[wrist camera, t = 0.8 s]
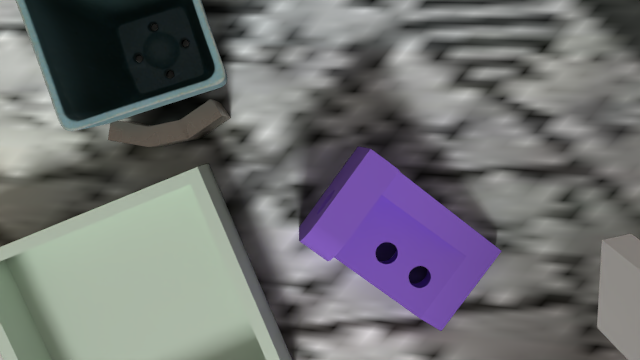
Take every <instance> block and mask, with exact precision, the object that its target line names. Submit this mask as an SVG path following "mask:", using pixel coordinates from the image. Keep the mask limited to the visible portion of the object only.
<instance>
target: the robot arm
mask: <svg viewBox="0 0 640 360" xmlns="http://www.w3.org/2000/svg"><path fill="white" fill-rule="evenodd" d="M597 328H598V329H599V330H600V331H601V332H602V333H603V334H604V335H605V336H606V337H607V338H608V339H609V341H610V342H611V343H612V344H613V345H614V346H615V347H616V348H617V349H618V350H619V351H620V352H621V353H622V354H623V355H624V356H625V357H626V358H627V359H628V360H640V240H639V239H638V238H636V237H635V236H634V235H632V234H627V235H622V236H618V237H613V238H609V239H604V240H602V248H601V265H600V283H599V301H598V319H597Z"/></svg>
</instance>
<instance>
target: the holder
mask: <svg viewBox="0 0 640 360" xmlns="http://www.w3.org/2000/svg"><path fill="white" fill-rule="evenodd" d="M230 118H231V117H230V116H229V114H228V113H227V111H226V110H225V109H224V107H223V106H222V104H221V103H220V102H217V101H215V100H212V99H210V100H208V101H207V102H205V103H204V104H203V105H201V106H200V107H198V108H197V109H195V110H194V111H192V112H191V113H189V114H188V115H186V116H185V117H184V118H182V119H181V120H177V121H172V122H168V123H163V124H158V125H154V126H153V125H148V124H142V123H136V122H129V121H115V122H112V123H110V130H109V137H108V140H111V141H117V142H123V143H128V144H134V145H140V146H146V147H158V146H167V145H171V144H176V143H181V142H185V141H190V140H195V139H200V138H202V137H203V136H205V135H206V134H208V133H209V132H211V131H212V130H214V129H215V128H216V127H218V126H219V125H221V124H222V123H224V122H225V121H227V120H228V119H230Z"/></svg>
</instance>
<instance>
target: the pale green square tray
mask: <svg viewBox="0 0 640 360" xmlns="http://www.w3.org/2000/svg"><path fill="white" fill-rule="evenodd" d="M0 353H1V355H2V357H3V359H4V360H292V358H291V356H290V353H289V351H288V349H287V346H286V344H285V342H284V339H283V337H282V335H281V332H280V330H279V328H278V325H277V323H276V321H275V318H274V316H273V314H272V311H271V309H270V307H269V304H268V302H267V299H266V297H265V295H264V292H263V290H262V288H261V285H260V283H259V281H258V278H257V276H256V274H255V271H254V269H253V267H252V264H251V262H250V260H249V257H248V255H247V253H246V250H245V248H244V246H243V243H242V241H241V238H240V236H239V234H238V231H237V229H236V227H235V224H234V222H233V220H232V217H231V215H230V213H229V210H228V208H227V206H226V203H225V201H224V199H223V196H222V194H221V192H220V189H219V187H218V185H217V182H216V180H215V177H214V175H213V173H212V170H211V168H210V166H209V163H208V164H205V165H202V166H198V167H196V168H193V169H191V170H188V171H186V172H183V173H181V174H179V175H176V176H174V177H171V178H169V179H166V180H164V181H161V182H159V183H156V184H154V185H152V186H149V187H147V188H144V189H142V190H139V191H137V192H134V193H132V194H129V195H127V196H124V197H122V198H120V199H117V200H115V201H112V202H110V203H107V204H105V205H102V206H100V207H97V208H95V209H93V210H90V211H88V212H85V213H83V214H80V215H78V216H75V217H73V218H70V219H68V220H65V221H63V222H61V223H58V224H56V225H53V226H51V227H48V228H46V229H43V230H41V231H38V232H36V233H34V234H31V235H29V236H26V237H24V238H21V239H19V240H16V241H14V242H11V243H9V244H7V245H4V246H2V247H0Z"/></svg>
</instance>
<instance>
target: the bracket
mask: <svg viewBox="0 0 640 360" xmlns="http://www.w3.org/2000/svg"><path fill="white" fill-rule="evenodd" d="M399 171H400V170H399V169H397V168H396V167H395V166H393V165H392V164H391V163H389V162H388V161H387V160H385V159H384V158H382V157H381V156H380V155H378V154H377V153H376V152H374V151H373V150H372V149H369V148H364V147H357V149H356V150H355V151H354V153H353V154H352V155H351V157H350V158H349V160H348V161H347V162H346V164H345V165H344V166H343V168H342V169H341V171H340V172H339V173H338V175H337V176H336V177H335V179H334V180H333V181H332V183H331V184H330V186H329V187H328V188H327V190H326V191H325V192H324V194H323V195H322V196H321V198H320V199H319V201H318V202H317V203H316V205H315V206H314V207H313V209H312V210H311V211H310V213H309V214H308V216H307V217H306V218H305V220H304V221H303V222H302V224H301V225H300V227H299V241H300V242H302V243H303V244H304V245H306V246H307V247H309V248H310V249H311V250H313V251H314V252H316V253H317V254H318V255H320V256H321V257H323V258H324V259H325V260H327V261H330V260H331V259H332V258H334V257H335V258H336V259H337V260H339V261H340V262H342V263H343V264H344V265H346V266H347V267H349V268H350V269H351V270H353V271H354V272H356V273H357V274H358V275H360V276H361V277H363V278H364V279H365V280H367V281H368V282H370V283H371V284H373V285H374V286H375V287H377V288H378V289H380V290H381V291H382V292H384V293H385V294H387V295H388V296H389V297H391V298H392V299H394V300H395V301H396V302H398V303H399V304H401V305H402V306H403V307H405V308H406V309H408V310H409V311H410V312H412V313H413V314H415V315H416V316H417V317H419V318H420V319H422V320H424V321H425V322H427V323H428V324H430V325H432V326H433V327H435V328H437V329H438V330H440V331H442V329H443V328H444V327H445V325H446V324H447V323H448V321H449V320H450V319H451V317H452V316H453V315H454V313H455V312H456V311H457V309H458V308H459V307H460V305H461V304H462V303H463V301H464V300H465V299H466V297H467V296H468V295H469V294H470V292H471V291H472V290H473V288H474V287H475V286H476V284H477V283H478V282H479V280H480V279H481V278H482V276H483V275H484V274H485V272H486V271H487V270H488V268H489V267H490V266H491V264H492V263H493V262H494V260H495V259H496V258H497V256H498V255H499V254H500V252H501V250H500V249H498V248H497V247H496V246H495V245H493V244H492V243H491V242H489V241H488V240H487V239H485V238H484V237H483V236H482V235H480V234H479V233H478V232H476V231H475V230H474V229H473V228H471V227H470V226H469V225H467V224H466V223H465V222H464V221H462V220H461V219H460V218H458V217H457V216H456V215H455V214H453V213H452V212H451V211H449V210H448V209H447V208H446V207H444V206H443V205H442V204H440V203H439V202H438V201H437V200H435V199H434V198H433V197H431V196H430V195H429V194H428V193H426V192H425V191H424V190H422V189H421V188H420V187H419V186H417V185H416V184H415V183H413V182H412V181H411V180H410V179H408V178H407V177H406V176H404V175H403V174H402V173H401V172H399ZM384 242H390V243H392V244H394V245H395V246H396V252H395V254H394V255H393V257H392V258H390V259H389V260H386V261H378V260H377V258H376V254H375V252H376V249H377V247H378V246H379V245H380V244H381V243H384ZM417 266H423V267H426V268H427V269H428V271H427V275H426V277H425V278H424V279H423V280H422V281H420V282H419V283H415V284H411V283H410V282H409V273H410V271H411V270H412V269H413V268H414V267H417Z"/></svg>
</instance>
